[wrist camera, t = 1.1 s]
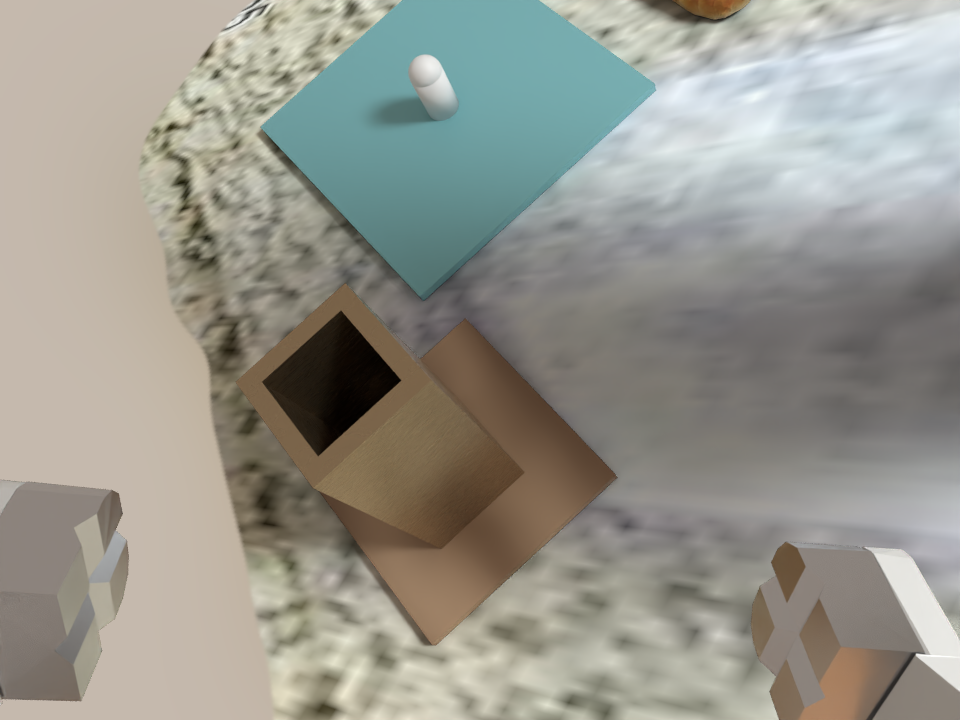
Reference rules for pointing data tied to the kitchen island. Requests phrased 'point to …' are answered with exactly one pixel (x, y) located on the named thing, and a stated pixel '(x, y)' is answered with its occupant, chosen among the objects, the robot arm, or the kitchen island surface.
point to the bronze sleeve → (377, 423)
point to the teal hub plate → (452, 125)
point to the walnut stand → (508, 519)
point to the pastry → (712, 7)
